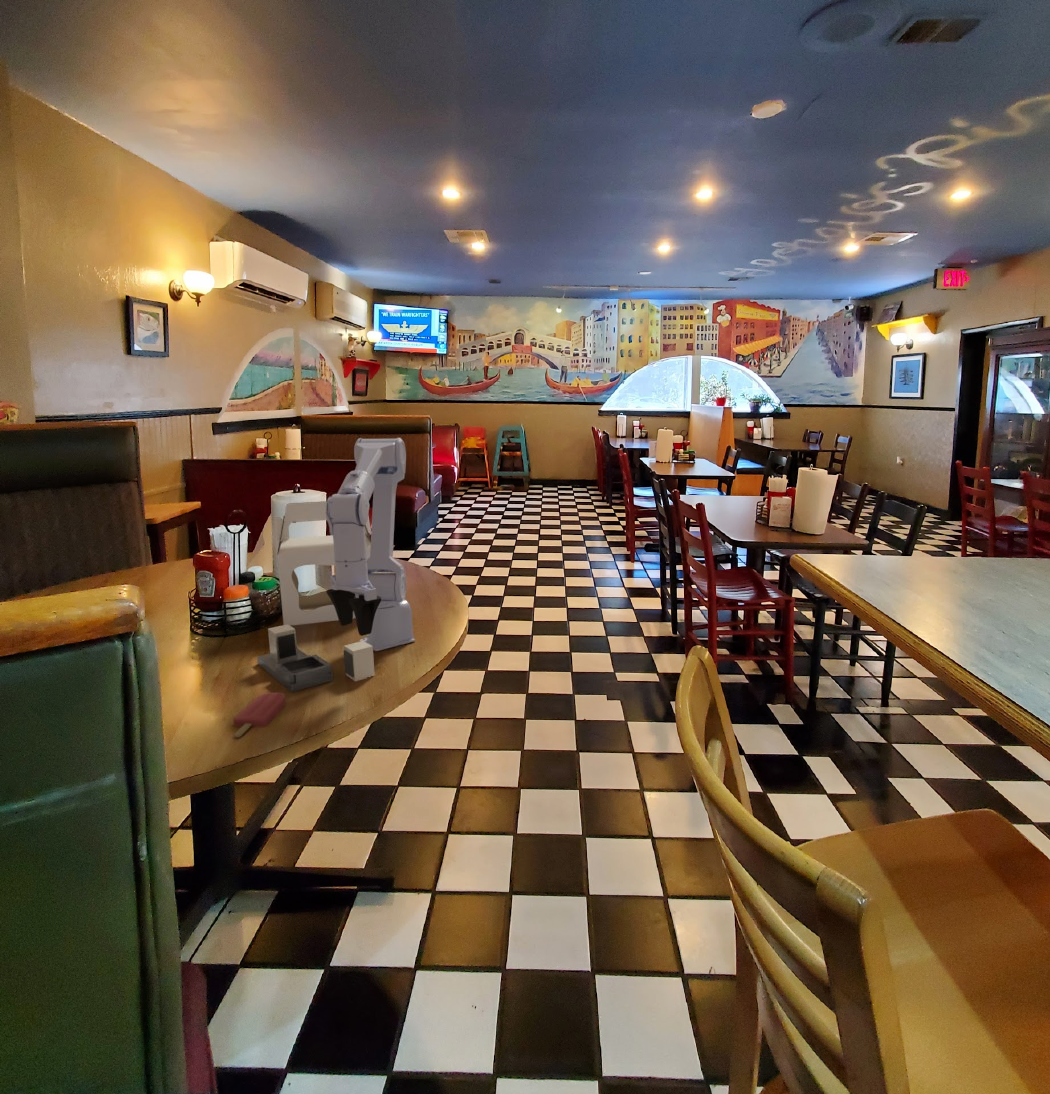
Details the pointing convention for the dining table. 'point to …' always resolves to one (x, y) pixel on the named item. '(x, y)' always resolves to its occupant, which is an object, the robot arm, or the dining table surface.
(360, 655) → the block
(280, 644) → the grey socket block stand
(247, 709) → the popsicle
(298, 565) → the gable box
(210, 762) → the dining table surface
